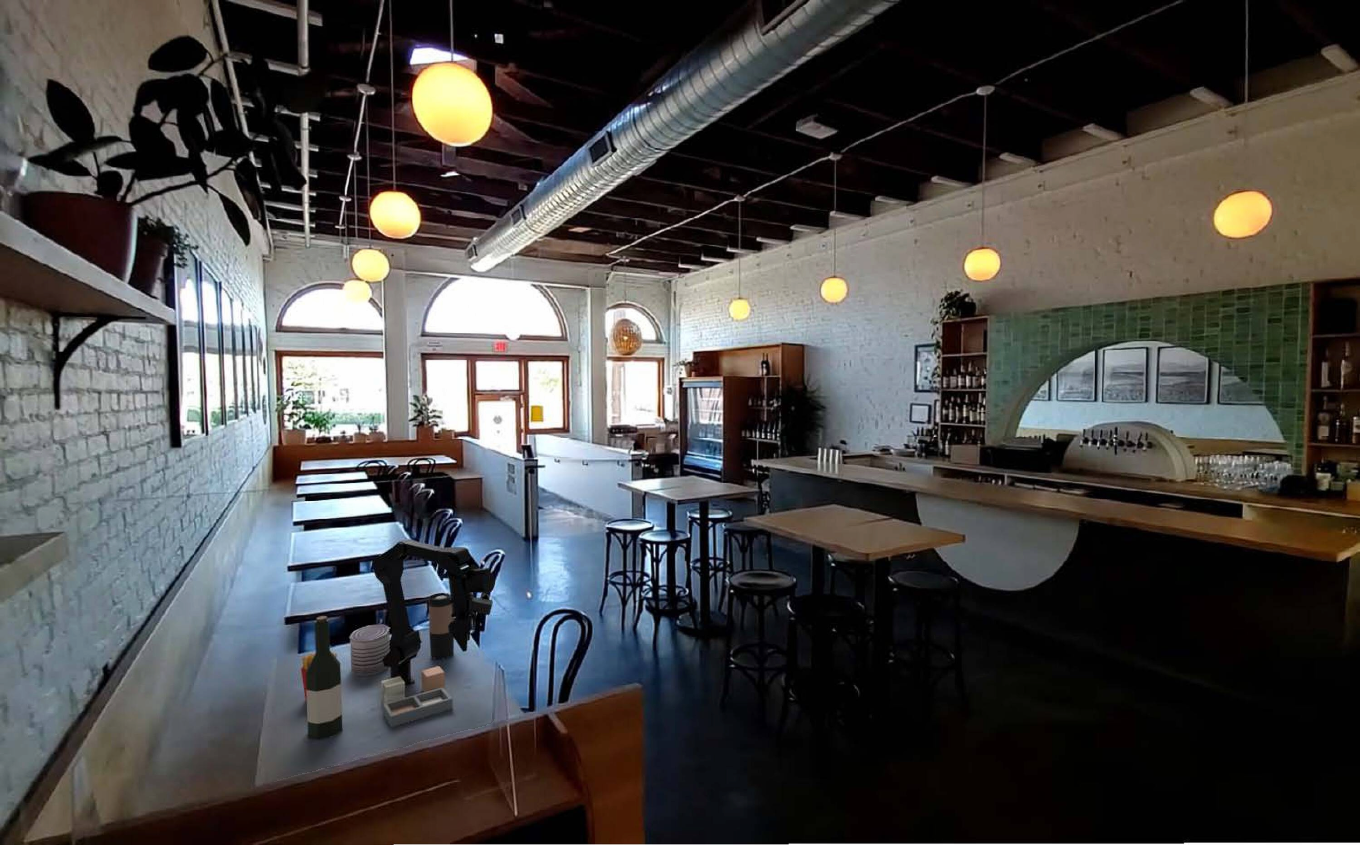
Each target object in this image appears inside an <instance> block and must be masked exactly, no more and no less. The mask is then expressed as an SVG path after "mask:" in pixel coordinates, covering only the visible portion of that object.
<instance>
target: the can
mask: <svg viewBox="0 0 1360 845" xmlns="http://www.w3.org/2000/svg"><path fill="white" fill-rule="evenodd" d="M390 629H391V627H390V626H387V625H386V624H384V623H383V624H381V623H380V624H370V625H366V626H362V627H360V628H358V629H355V630H354V631H353V632H351V634H350V635H349V637H348V638H349V639H350V640H349V643H350V644H349V645H350V670H351V673H352V672H353V673H352V674H353V676H360V675H362V676H363V677H365V675H366V676H372V674H373V675H377V674H379V672H380V673H382V672H384V671H383V670H385V671H387V670H386V669H389V667H385V666H384V664H383V661H382V659H383V658H384V657H385V656H386V655H387V654H388V653H389V652H390V646H389V642H390V638H391V635H390V634H391V633H390ZM381 671H382V672H381ZM376 673H377V674H376Z"/></svg>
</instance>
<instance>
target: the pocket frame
mask: <svg viewBox="0 0 1360 845" xmlns="http://www.w3.org/2000/svg"><path fill="white" fill-rule="evenodd" d="M453 701H454V700H453V697H451V695H450V694H449V693H448V692H447V690H446V688H445V689H444V688H443V687H442V688H439V689H435V690H432V691H428V692H421V693H417V694H414V695H411V696H407V697H406V696H405V698H403V699H399V700H396V701H392V702H389V703H385V704H383V703H382V710H383V711H382V714H383V716H385V717H384V718H385V720H386V722H387V721H388V722H387V724H388V725H389V724H390V725H389V727H390V726H391V727H392V728H395V727H398V726H401V725H400V724H402V725H404V723H405V724H407V722H408V723H411V722H410V721H412V720H415V721H417V720H416V719H418V720H421V719H420V718H422V719H425V718H427V716H428V717H431V716H430V715H432V716H434V715H433V714H435V715H438V714H441V713H444V711H445V712H448V711H451V710H453V708H454V707H453ZM447 710H448V711H447ZM424 717H425V718H424ZM412 722H413V721H412ZM397 725H398V726H397ZM394 726H395V727H394ZM391 727H390V728H391Z"/></svg>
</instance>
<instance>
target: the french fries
mask: <svg viewBox="0 0 1360 845" xmlns="http://www.w3.org/2000/svg"><path fill="white" fill-rule="evenodd" d="M331 653H332V654H333V655H334V656H335V657H336V658H337V656H338V653H335V652H331ZM315 654H316V652H315V653H310V654H308V655H307V656H305V655H303V656H302V658H301V660H302V667H301V668H300V673H301V678H302V685H303V686H302V687H303V692H304V698H305V702H307V691H306V669H307V667H308V666H309V664H310V662H311V661H312V659H313V657H314V655H315Z"/></svg>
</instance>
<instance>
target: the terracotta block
mask: <svg viewBox="0 0 1360 845" xmlns="http://www.w3.org/2000/svg"><path fill="white" fill-rule="evenodd" d="M445 685H446V684H445V671H444V670H443V669H442V668H441V667H440V666H439V665H438V666H434V667H431V668H426V669H423V670H421V690H423V691H424V692H428V691H432V690H435V689H439V688H442V687H443V688H444V689H445V690H446V686H445ZM423 691H422V692H423ZM424 692H423V693H424Z"/></svg>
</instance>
